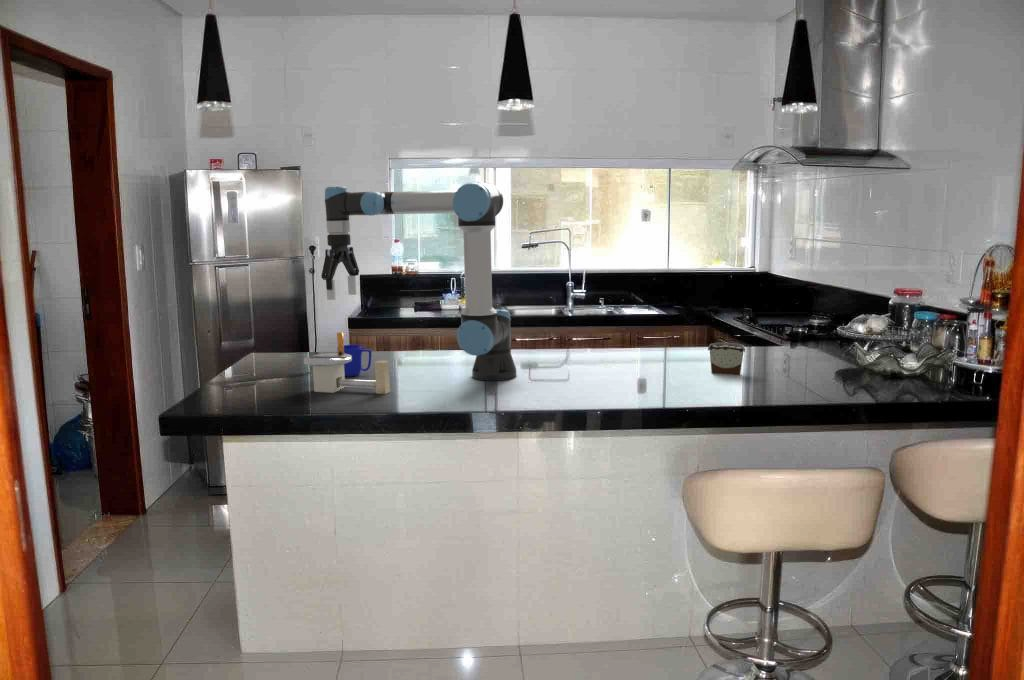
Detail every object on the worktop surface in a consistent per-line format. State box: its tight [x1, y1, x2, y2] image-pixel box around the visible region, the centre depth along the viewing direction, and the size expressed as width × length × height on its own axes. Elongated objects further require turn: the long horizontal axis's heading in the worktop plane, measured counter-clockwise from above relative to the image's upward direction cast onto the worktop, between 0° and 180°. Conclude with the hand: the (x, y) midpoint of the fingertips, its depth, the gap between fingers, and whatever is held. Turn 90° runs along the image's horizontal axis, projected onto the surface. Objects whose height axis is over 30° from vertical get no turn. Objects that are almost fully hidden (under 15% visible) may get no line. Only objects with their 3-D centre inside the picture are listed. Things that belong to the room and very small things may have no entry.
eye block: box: [312, 364, 346, 394], centre depth 252 cm, size 7×7×9 cm
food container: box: [707, 342, 746, 377], centre depth 264 cm, size 12×6×10 cm, turn 65°
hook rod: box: [336, 360, 391, 395], centre depth 250 cm, size 25×3×10 cm, turn 73°
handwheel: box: [303, 332, 352, 367], centre depth 250 cm, size 15×15×8 cm
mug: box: [336, 344, 372, 377], centre depth 272 cm, size 8×12×10 cm
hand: (342, 297), depth 264 cm, fingers open, 13 cm apart
